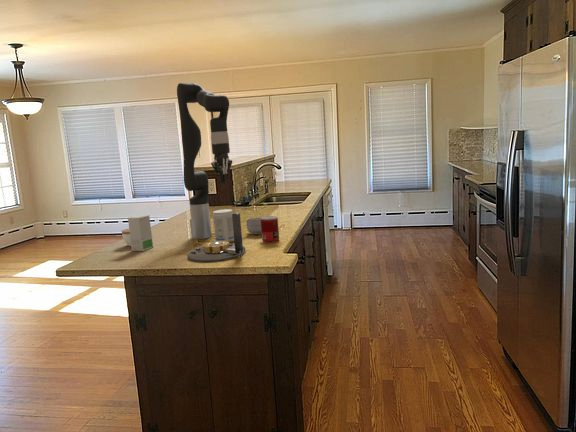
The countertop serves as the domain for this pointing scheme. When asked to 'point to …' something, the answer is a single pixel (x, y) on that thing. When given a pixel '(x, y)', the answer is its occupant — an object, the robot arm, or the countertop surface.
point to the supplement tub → (223, 225)
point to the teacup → (254, 225)
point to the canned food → (269, 229)
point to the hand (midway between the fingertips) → (223, 182)
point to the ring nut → (225, 244)
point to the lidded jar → (126, 236)
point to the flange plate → (213, 254)
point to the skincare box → (140, 232)
